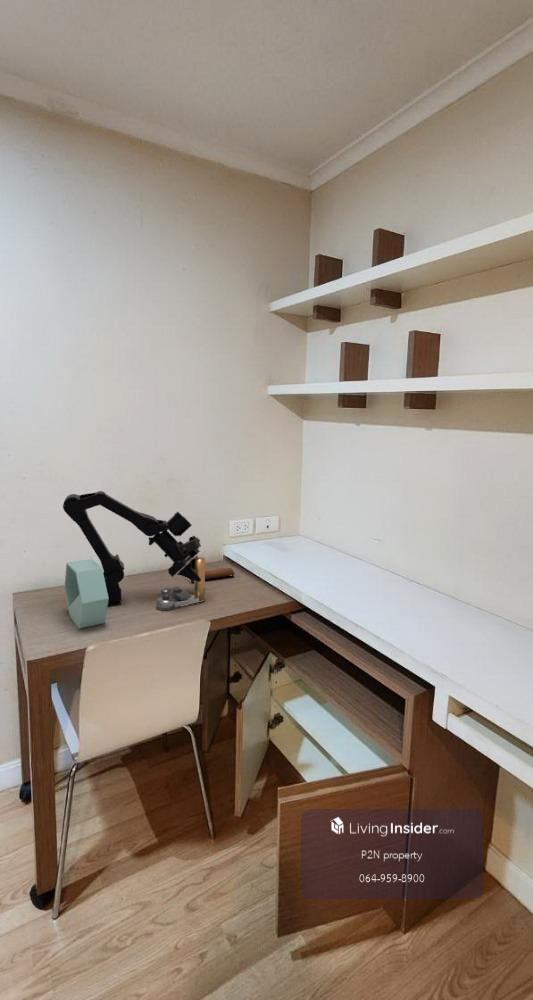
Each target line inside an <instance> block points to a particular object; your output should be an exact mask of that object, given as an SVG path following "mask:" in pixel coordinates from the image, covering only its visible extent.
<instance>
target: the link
mask: <svg viewBox="0 0 533 1000" xmlns="http://www.w3.org/2000/svg"><path fill="white" fill-rule="evenodd" d="M205 570H206V558H205V557H203V556H202V557H201V556H198V557H197V558H195V572H196V573H197V575H198V576H199V577H200V579H201V581H200V582H197V581H195V580H194V583H193V584H194V586H193V587H194V590H193V591H194V592H193V593H194V594H191V598H187V599H183V600H180V599H178V598H175V597H173V596H172V595H170V599H168V600H163V599H162V595H161V596H158V597H157V598H156V609H157V610H160V611H163V610H167V611H172V610H174V609H175V608H178V607H177V606H181V605H185V604H189V603H194V602H199V601H202V600H204V599H205V598H206V596H205V595H206V587H205V586H206V585H205V584H206V580H205ZM174 607H175V608H174ZM181 607H182V606H181ZM173 608H174V609H173ZM171 609H172V610H171Z"/></svg>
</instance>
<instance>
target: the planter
mask: <svg viewBox="0 0 533 1000" xmlns="http://www.w3.org/2000/svg"><path fill="white" fill-rule="evenodd" d="M65 566H66V567H65V575H64V586H63V587H64V594H65V599H66V603H67V608H68V609H67V610H68V613H69V614H68V615H69V618H70V619H71V620H72V622H73V623H74V624H75V625H76V626H77V628H78V629H84V628H89V627H93V626H98V625H102V624H105V623H106V619H107V612H108V607H109V606H108V600H109V598H108V593H107V588H106V584H105V579H104V574H103V572H104V570H103V567H102V565H100V564H98V562H96V561H95V560H94V559H92V558H90V559H81V560H75V561H69V562H66V565H65Z"/></svg>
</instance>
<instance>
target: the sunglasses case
mask: <svg viewBox="0 0 533 1000" xmlns="http://www.w3.org/2000/svg"><path fill="white" fill-rule="evenodd" d="M230 575H234V576H235V570H234V569H233V568H230V567H224V566H223V567H222V566H221V567H214V568H209V569H205V579H207V580H212V579H211V578H216V579H220V578H219V577H224V578H226V577H225V576H230ZM189 579H190V578H189ZM190 580H191V582H193V581H194V580H192V579H190ZM191 582H190V583H191Z"/></svg>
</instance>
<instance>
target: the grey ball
mask: <svg viewBox="0 0 533 1000" xmlns="http://www.w3.org/2000/svg"><path fill="white" fill-rule="evenodd" d="M160 593H161V596H162V599H163V600H168V599H170V596H171V594H170V593H172V588H169V587H162V588H160Z"/></svg>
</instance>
